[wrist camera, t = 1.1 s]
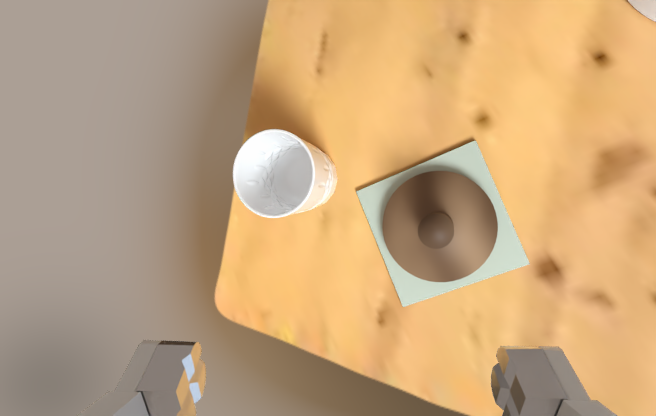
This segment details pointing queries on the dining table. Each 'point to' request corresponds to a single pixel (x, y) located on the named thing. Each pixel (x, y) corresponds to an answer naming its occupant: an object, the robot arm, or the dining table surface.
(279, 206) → the white cup
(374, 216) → the mat
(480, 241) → the lid
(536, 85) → the dining table surface
